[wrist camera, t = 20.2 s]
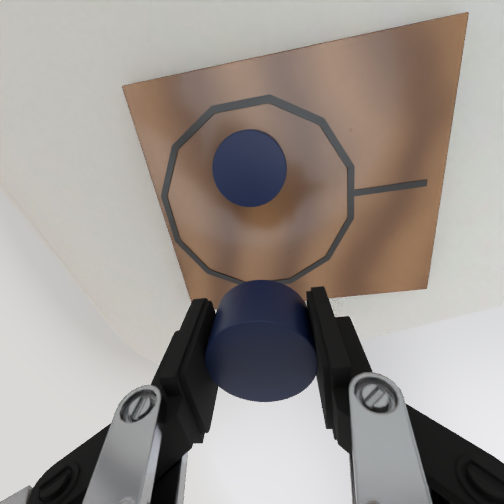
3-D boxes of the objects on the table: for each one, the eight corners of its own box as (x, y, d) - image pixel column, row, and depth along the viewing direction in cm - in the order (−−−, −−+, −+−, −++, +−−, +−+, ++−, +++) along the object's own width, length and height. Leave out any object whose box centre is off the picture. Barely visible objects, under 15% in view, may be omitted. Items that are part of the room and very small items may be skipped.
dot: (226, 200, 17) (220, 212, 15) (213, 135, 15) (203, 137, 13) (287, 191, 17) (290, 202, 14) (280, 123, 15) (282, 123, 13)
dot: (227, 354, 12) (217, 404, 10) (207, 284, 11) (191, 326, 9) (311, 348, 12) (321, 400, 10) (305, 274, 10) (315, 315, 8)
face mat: (197, 304, 22) (193, 312, 21) (129, 87, 15) (120, 85, 14) (420, 281, 20) (428, 289, 19) (456, 18, 13) (471, 10, 12)
